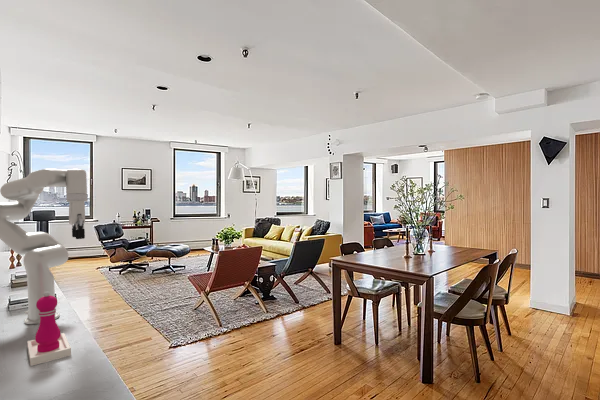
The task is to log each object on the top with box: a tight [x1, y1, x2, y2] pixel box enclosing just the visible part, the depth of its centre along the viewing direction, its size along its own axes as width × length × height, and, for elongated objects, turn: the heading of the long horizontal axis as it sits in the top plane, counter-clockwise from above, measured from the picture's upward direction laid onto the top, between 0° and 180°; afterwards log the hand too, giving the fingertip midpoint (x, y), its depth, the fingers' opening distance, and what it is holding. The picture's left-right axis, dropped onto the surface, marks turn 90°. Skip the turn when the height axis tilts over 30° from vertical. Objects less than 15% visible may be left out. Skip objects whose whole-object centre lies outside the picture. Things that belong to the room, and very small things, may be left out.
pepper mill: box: [34, 292, 62, 352], centre depth 122 cm, size 7×7×20 cm
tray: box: [26, 332, 72, 367], centre depth 123 cm, size 18×11×2 cm, turn 40°
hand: (78, 237), depth 151 cm, fingers open, 9 cm apart
